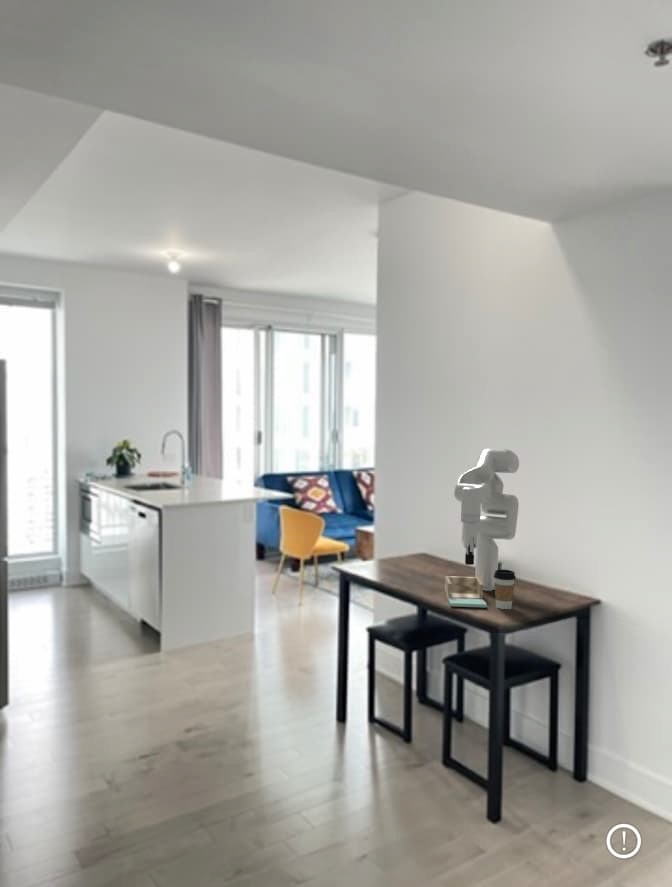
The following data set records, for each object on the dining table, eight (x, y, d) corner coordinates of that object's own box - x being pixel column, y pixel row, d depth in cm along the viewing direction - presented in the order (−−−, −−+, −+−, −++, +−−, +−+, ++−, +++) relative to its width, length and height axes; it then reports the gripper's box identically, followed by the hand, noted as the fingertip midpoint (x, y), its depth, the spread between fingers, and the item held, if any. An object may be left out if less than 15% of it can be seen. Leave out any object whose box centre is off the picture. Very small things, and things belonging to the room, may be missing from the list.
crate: (478, 593, 287) (478, 577, 287) (482, 601, 275) (483, 584, 275) (444, 592, 288) (445, 576, 288) (447, 600, 276) (448, 583, 276)
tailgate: (483, 599, 274) (486, 604, 265) (483, 602, 274) (486, 607, 265) (448, 598, 275) (450, 603, 266) (448, 601, 275) (450, 606, 266)
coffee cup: (496, 611, 262) (497, 573, 262) (490, 604, 271) (491, 568, 270) (517, 611, 263) (518, 573, 262) (510, 605, 271) (512, 568, 270)
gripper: (458, 514, 273) (457, 559, 275) (463, 521, 258) (462, 568, 260) (477, 515, 273) (476, 559, 274) (483, 522, 258) (482, 569, 259)
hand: (469, 564), depth 267 cm, fingers closed
